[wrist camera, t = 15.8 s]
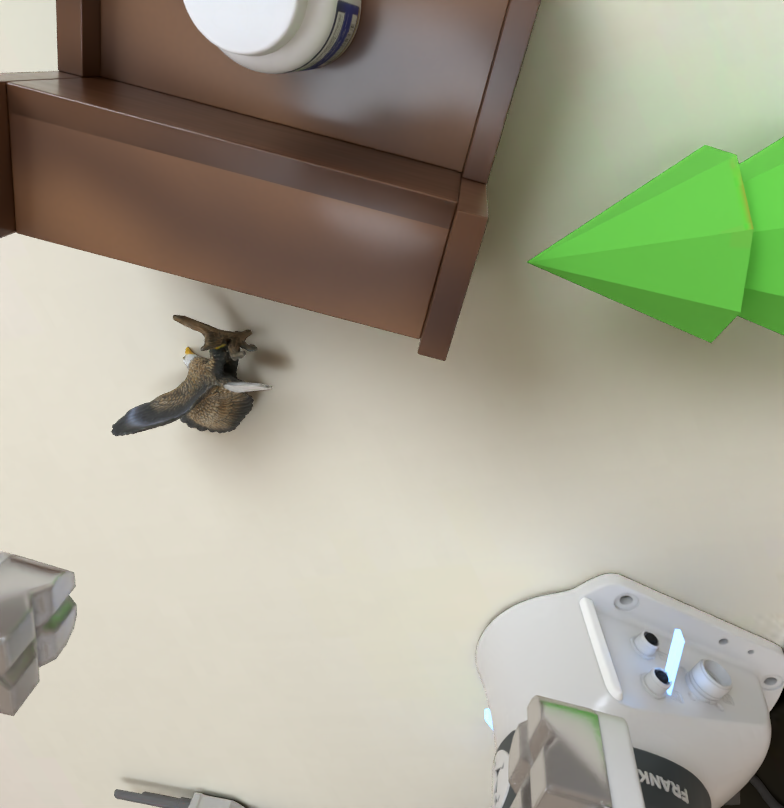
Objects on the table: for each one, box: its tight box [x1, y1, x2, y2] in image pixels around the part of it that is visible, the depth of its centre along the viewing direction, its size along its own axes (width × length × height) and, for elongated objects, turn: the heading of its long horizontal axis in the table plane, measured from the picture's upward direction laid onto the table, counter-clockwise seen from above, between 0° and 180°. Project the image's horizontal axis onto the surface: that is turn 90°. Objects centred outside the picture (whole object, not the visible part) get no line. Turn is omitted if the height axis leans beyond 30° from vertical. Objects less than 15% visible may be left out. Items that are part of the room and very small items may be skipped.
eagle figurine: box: [111, 315, 272, 436], centre depth 39 cm, size 8×7×9 cm
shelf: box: [0, 0, 541, 361], centre depth 27 cm, size 16×20×12 cm
